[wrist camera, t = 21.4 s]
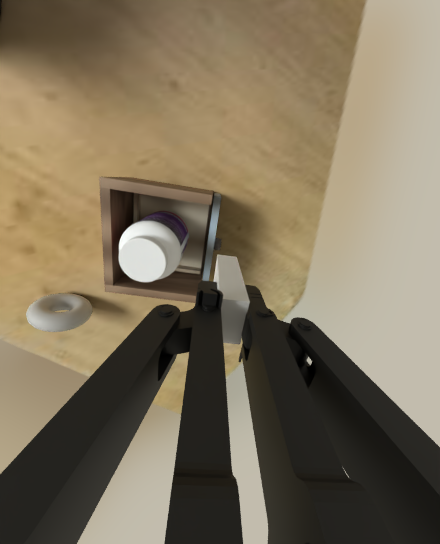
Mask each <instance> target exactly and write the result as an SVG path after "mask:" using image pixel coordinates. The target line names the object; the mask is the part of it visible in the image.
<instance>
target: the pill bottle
mask: <svg viewBox="0 0 440 544" xmlns="http://www.w3.org/2000/svg"><path fill="white" fill-rule="evenodd" d="M188 240H189V231H188V227H187V225H186V223H185V221H184V220H183V219H182V218H181V217H180V216H179V215H177V214H176V213H173V212H171V211H166V210H162V211H157V212H154V213H152V214H150V215H148V216H147V217H145V218H143V219H141V220H140V221H138V222H136V223H134V224H133V225H131V226H130V227H128V228H127V229H126V230H125V232H124V233H123V234H122V236H121V239H120V242H119V263H120V266H121V268H122V270H123V271H124V273H125V274H126V275H128V276H129V277H130V278H132V279H134V280H136V281H139V282H151V281H154V280H158V279H162V278H165V277H167V276H169V275H170V274H172V273H173V272H174V271H175V269H176V268H177V267H178V265H179V263H180V260H181V258H182V255H183V253H184V251H185V248H186V246H187V244H188Z"/></svg>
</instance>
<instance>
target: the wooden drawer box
mask: <svg viewBox="0 0 440 544" xmlns="http://www.w3.org/2000/svg"><path fill="white" fill-rule="evenodd" d="M99 180H100V200H101V221H102V241H103V261H104V281H105V292H112V293H120V294H128V295H136V296H144V297H152V298H160V299H168V300H176V301H184V302H192V303H196V295H197V290H198V283H200V282H201V279H202V272H203V264H204V257H205V250H206V242H207V235H208V228H209V220H210V213H211V206H212V198H213V191H209V190H203V189H197V188H191V187H185V186H179V185H173V184H167V183H161V182H155V181H149V180H143V179H137V178H128V177H99ZM134 193H139V194H146V195H152V196H158V197H164V198H170V199H177V200H183V201H189V202H195V203H202V204H208V205H209V211H208V218H207V226H206V233H205V241H204V249H203V256H202V264H201V271H200V274H194V273H186V272H179V271H174V272H173V273H172V274H170V275H169V276H167V277H165V278H162V279H158V280H154V281H151V282H139V281H136V280H134V279H132V278H130V277H129V276H128V275H126V274H125V273H124V271H123V270H122V268H121V266H120V263H119V242H120V239H121V236H122V234H123V233H124V232H125V230H126V229H127V228H128V227H130V226H131V225H133V224H134Z"/></svg>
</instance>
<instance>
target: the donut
mask: <svg viewBox="0 0 440 544" xmlns="http://www.w3.org/2000/svg"><path fill="white" fill-rule="evenodd" d="M59 310H69V311H66V312H55V311H59ZM91 314H92V305H91V303H90V302H89V301H88V300H87V299H86V298H84V297H82V296H80V295H76V294H70V293H58V294H51V295H48V296H44V297H42V298H40V299H38V300H36V301H35V302H34V303H32V304H31V305H30V306H29V308H28V310H27V313H26V316H27V319H28V322H29V323H30V324H31V325H32V326H33V327H35V328H37V329H40V330H43V331H49V332H60V331H67V330H71V329H74V328H76V327H78V326H81V325H82V324H84V323H85V322H86V321H87V320H88V319H89V318H90V316H91Z"/></svg>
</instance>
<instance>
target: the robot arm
mask: <svg viewBox="0 0 440 544" xmlns="http://www.w3.org/2000/svg"><path fill="white" fill-rule="evenodd" d="M0 13H1V0H0ZM241 338H242V340H243V344H242V348H241V352H240V357H239V362H241V359H243V365H244V372H245V378H246V384H247V391H248V397H249V404H250V410H251V417H252V422H253V429H254V435H255V442H256V448H257V454H258V461H259V467H260V473H261V480H262V487H263V493H264V499H265V506H266V512H267V518H268V544H440V447H439V446H438V445H437V444H436V443H435V442H434V441H433V440H432V439H431V438H430V437H429V436H428V435H427V434H426V433H425V432H424V431H423V430H422V429H421V428H420V427H418V425H417V424H415V422H413V420H411V419H410V417H408V416H407V415H406V414H405V413H404V412H403V411H402V410H401V409H400V408H399V407H398V406H397V405H396V404H395V403H394V402H393V401H392V400H391V399H390V398H389V397H388V396H387V395H386V394H385V393H384V392H383V391H382V390H381V389H380V388H379V387H378V386H377V385H376V384H375V383H374V382H373V381H372V380H371V379H370V378H369V377H368V376H367V375H366V374H365V373H364V372H363V371H362V370H361V369H360V368H359V367H358V366H357V365H356V364H355V363H354V362H353V361H352V360H351V359H350V358H349V357H348V356H347V355H346V354H345V353H344V352H343V351H342V350H341V349H339V347H338V346H337V345H336V344H335V343H334V342H333V341H332V340H330V339H329V338H328V337H327V336H326V335H325V334H324V333H323V332H322V331H321V330H320V329H319V328H318V327H317V326H316V325H315V324H314V323H313V322H311V321H309V320H307V319H304V318H293V319H292V320H291V323H286V322H283V321H280V320H278V319H277V317H276V315H275V314H274V312H273V311H271V310H270V309H268V308H267V307H266V305H265V302H264V300H263V297H262V295H261V292H260V290H259V289H258V288H257V287H256V286H251V285H245V284H244V280H243V277H242V273H241V270H240V266H239V263H238V260H237V257H234V256H226V255H218V254H217V261H216V268H215V275H214V282H211V281H203V280H202V281H201V282H200V283H198V290H197V295H196V304H195V307H194V308H193V309H191V310H189V311H185V312H180V310H179V309H178V308H177V307H176V306H173V305H168V304H165V305H159V306H156V307H155V308H154V309H153V310H152V311H151V312H150V313H149V314H148V315H147V316H146V317H145V318H144V319H143V320H142V321H141V323H140V324H139V325H138V326H137V327H136V328H135V329H134V330H133V331H132V332H131V333H130V334H129V336H128V337H127V338H126V339H125V340H124V341H123V342H122V343H121V344H120V345H119V346H118V347H117V349H116V350H115V351H114V352H113V353H112V354H111V355H110V356H109V357H108V358H107V359H106V360H105V362H104V363H103V364H102V365H101V366H100V367H99V368H98V369H97V370H96V371H95V372H94V373H93V375H92V376H91V377H90V378H89V379H88V380H87V381H86V382H85V383H84V384H83V385H82V386H81V388H80V389H79V390H78V391H77V392H76V393H75V394H74V395H73V396H72V397H71V398H70V399H69V401H68V402H67V403H66V404H65V405H64V406H63V407H62V408H61V409H60V410H59V411H58V412H57V414H56V415H55V416H54V417H53V418H52V419H51V420H50V421H49V422H48V423H47V424H46V425H45V427H44V428H43V429H42V430H41V431H40V432H39V433H38V434H37V435H36V436H35V437H34V438H33V440H32V441H31V442H30V443H29V444H28V445H27V446H26V447H25V448H24V449H23V450H22V451H21V453H20V454H19V455H18V456H17V457H16V458H15V459H14V460H13V461H12V462H11V464H9V466H8V467H7V468H6V469H5V470H4V471H3V472H2V473H1V474H0V544H77V542H78V540H79V538H80V536H81V534H82V533H83V531H84V529H85V527H86V525H87V523H88V521H89V519H90V518H91V516H92V514H93V512H94V510H95V508H96V506H97V505H98V503H99V501H100V499H101V497H102V495H103V493H104V492H105V490H106V488H107V486H108V484H109V482H110V480H111V478H112V476H113V475H114V473H115V471H116V469H117V467H118V465H119V463H120V461H121V460H122V458H123V456H124V454H125V452H126V450H127V448H128V447H129V445H130V443H131V441H132V439H133V437H134V435H135V433H136V432H137V430H138V428H139V426H140V424H141V422H142V420H143V419H144V416H145V415H146V413H147V411H148V409H149V407H150V405H151V404H152V402H153V400H154V398H155V396H156V394H157V392H158V390H159V389H160V387H161V385H162V383H163V381H164V379H165V377H166V375H167V374H168V372H169V370H170V368H171V366H172V364H173V362H174V361H175V359H176V356H177V354H181V353H186V352H189V359H188V366H187V374H186V382H185V390H184V398H183V405H182V413H181V421H180V430H179V437H178V445H177V452H176V460H175V468H174V475H173V482H172V490H171V497H170V505H169V513H168V520H167V528H166V537H165V544H243V538H242V526H241V514H240V502H239V493H238V486H237V482H236V479H235V477H234V476H233V473H232V466H231V453H230V437H229V424H228V423H229V422H228V408H227V393H226V377H225V362H224V347H223V343H232V344H240V342H241ZM308 357H309V358H310V359H311V360H312V364H311V365H309V364H308V362H307V358H308ZM342 466H343V467H342ZM343 468H344V469H343ZM344 470H345V471H346V473H347V474H348V476H349V478H348V476H347V475H346V473H345V471H344ZM350 479H351V480H350Z"/></svg>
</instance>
